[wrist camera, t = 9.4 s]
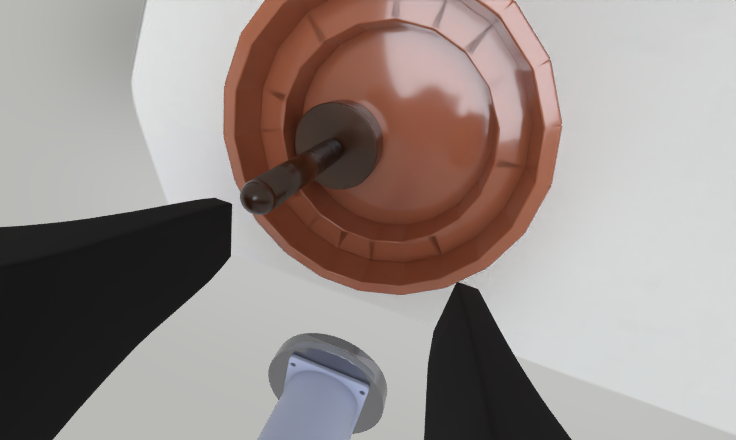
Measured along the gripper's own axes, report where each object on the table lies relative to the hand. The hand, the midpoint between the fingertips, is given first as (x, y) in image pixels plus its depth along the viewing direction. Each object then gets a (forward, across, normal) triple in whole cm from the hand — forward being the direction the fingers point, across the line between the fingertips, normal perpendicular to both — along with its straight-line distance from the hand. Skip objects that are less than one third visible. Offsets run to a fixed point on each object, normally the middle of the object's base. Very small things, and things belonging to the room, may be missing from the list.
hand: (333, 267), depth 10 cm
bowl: (+10, +1, -2) cm, 10 cm away
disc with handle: (+10, +3, -1) cm, 10 cm away
